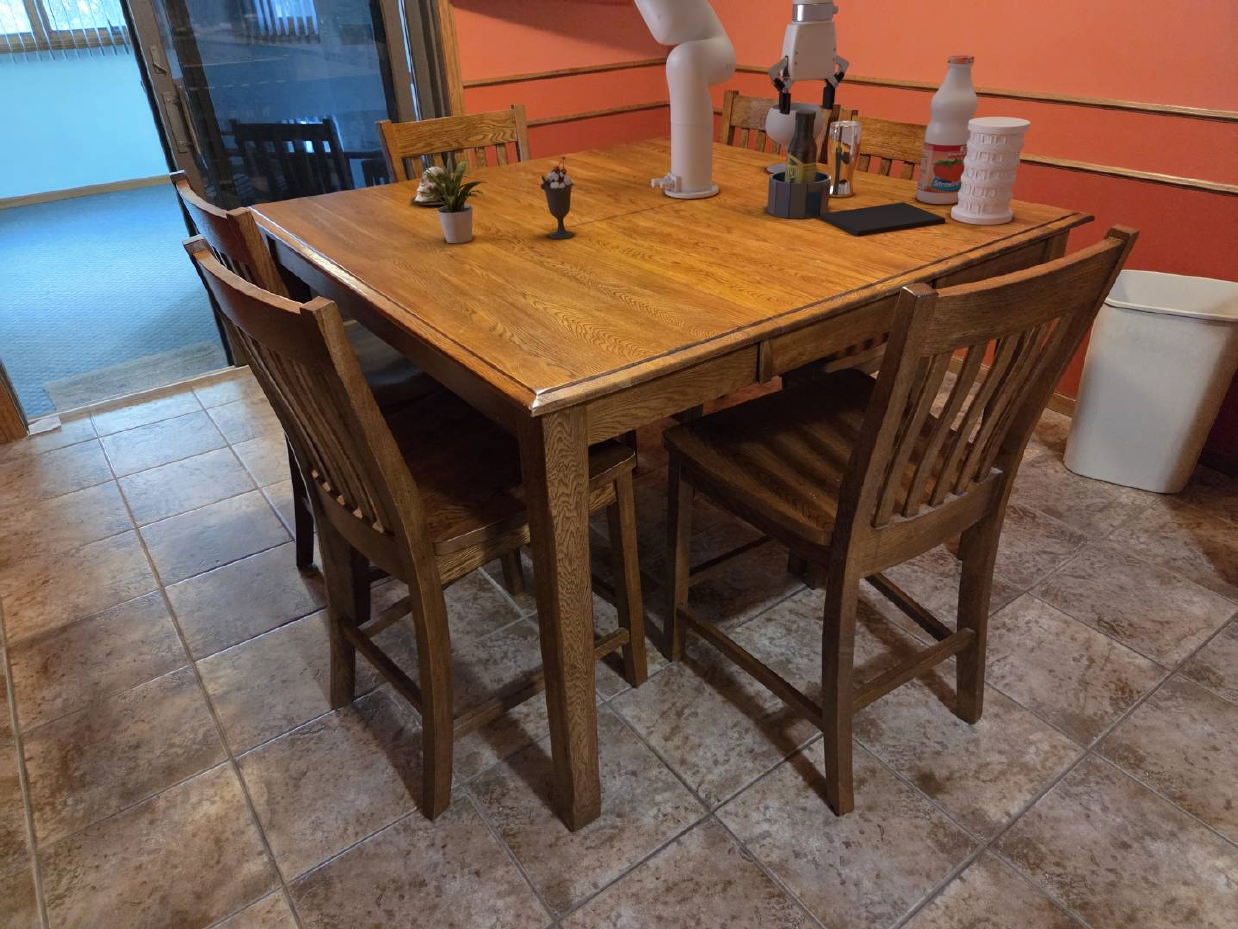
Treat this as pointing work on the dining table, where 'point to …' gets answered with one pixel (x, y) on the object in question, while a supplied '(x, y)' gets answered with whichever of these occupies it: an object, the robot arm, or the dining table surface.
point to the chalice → (789, 127)
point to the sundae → (558, 198)
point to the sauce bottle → (802, 150)
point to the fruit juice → (947, 134)
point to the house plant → (454, 203)
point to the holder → (798, 196)
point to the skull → (429, 189)
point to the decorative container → (990, 170)
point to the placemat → (881, 218)
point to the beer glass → (843, 156)
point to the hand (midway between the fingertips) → (806, 111)
